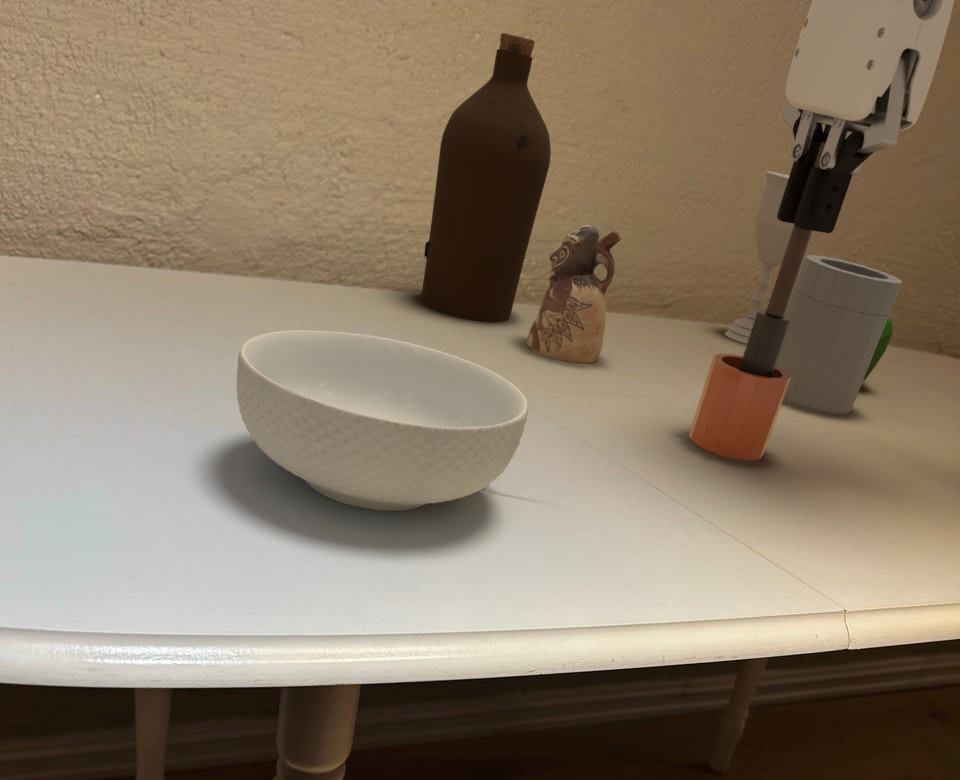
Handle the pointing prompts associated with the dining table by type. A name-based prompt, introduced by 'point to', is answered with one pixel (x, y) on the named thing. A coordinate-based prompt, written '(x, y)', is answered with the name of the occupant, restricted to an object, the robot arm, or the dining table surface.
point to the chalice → (766, 248)
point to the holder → (737, 409)
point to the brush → (776, 306)
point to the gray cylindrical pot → (834, 331)
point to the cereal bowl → (377, 417)
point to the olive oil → (487, 193)
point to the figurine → (575, 298)
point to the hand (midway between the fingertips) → (804, 224)
